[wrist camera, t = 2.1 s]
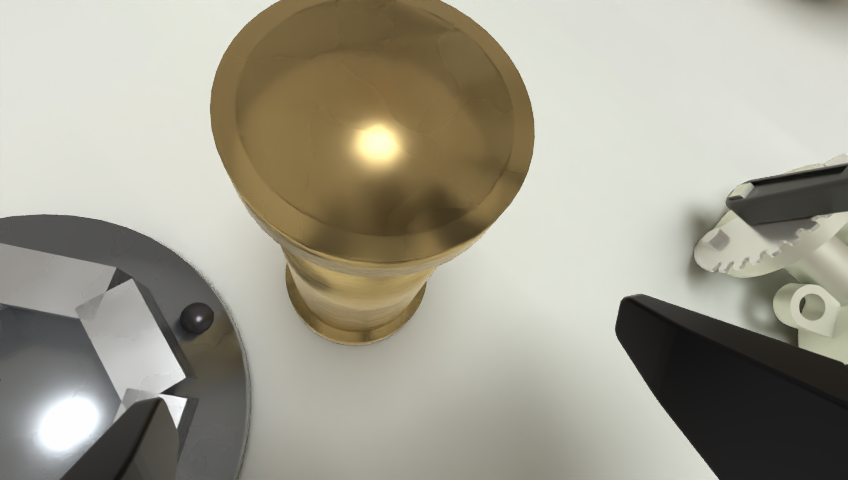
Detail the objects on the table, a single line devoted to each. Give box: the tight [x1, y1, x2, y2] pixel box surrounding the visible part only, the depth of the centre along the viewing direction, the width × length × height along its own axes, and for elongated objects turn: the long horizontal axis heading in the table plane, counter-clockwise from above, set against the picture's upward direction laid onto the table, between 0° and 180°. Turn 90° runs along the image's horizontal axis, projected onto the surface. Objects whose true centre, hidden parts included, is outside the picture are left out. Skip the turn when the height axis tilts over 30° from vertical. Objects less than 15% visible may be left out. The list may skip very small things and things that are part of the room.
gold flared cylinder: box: [210, 0, 535, 346], centre depth 14 cm, size 6×6×13 cm
